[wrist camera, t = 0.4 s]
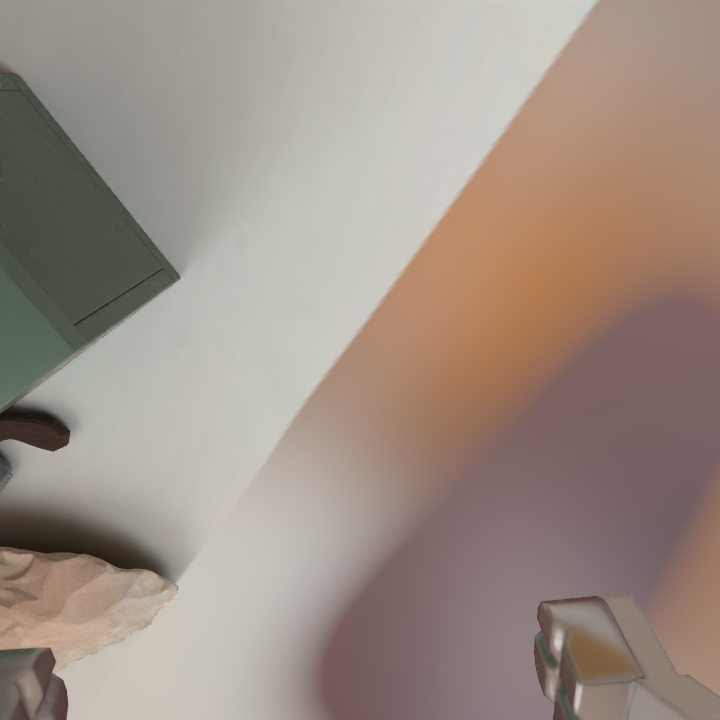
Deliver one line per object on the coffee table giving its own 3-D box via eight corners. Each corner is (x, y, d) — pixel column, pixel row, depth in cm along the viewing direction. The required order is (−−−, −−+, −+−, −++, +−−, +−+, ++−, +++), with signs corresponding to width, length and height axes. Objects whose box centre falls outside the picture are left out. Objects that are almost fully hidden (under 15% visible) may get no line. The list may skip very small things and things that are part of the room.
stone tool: (-151, 604, 34) (95, 540, 31) (-82, 547, 39) (139, 486, 35) (-60, 732, 37) (176, 687, 33) (-5, 666, 41) (208, 619, 38)
